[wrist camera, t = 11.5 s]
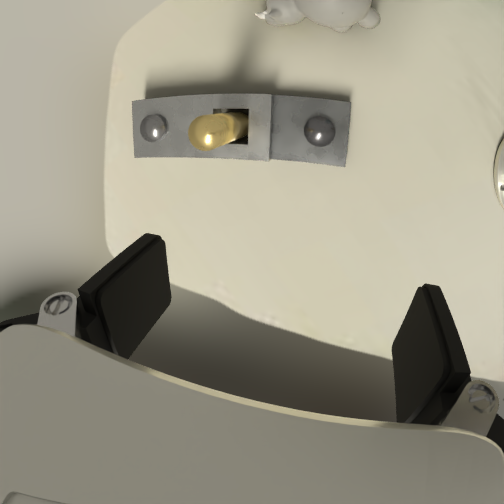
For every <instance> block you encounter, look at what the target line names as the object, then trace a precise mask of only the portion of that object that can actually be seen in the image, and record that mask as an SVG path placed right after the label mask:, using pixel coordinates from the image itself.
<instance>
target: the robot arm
mask: <svg viewBox="0 0 504 504" xmlns="http://www.w3.org/2000/svg"><path fill="white" fill-rule="evenodd" d="M494 183H495V190H496V194H497V197H498V200H499V202H500V204H501V206H502V207H503V209H504V139H503V140H502V142H501V144H500V146H499V149H498V151H497V155H496V159H495V166H494ZM78 291H79V295H80V296H79V297H78V298H76V297H75V295H74V294H72V293H70V292H59V293H56V294H53V295H51V296H49V297H48V298H47V299H46V300H45V301H44V302H43V303H42V305H41V308H40V313H36V314H31V315H27V316H23V317H18V318H14V319H10V320H6V321H3V322H1V323H0V504H504V419H502V418H501V417H500V416H499V415H498V414H497V411H498V408H499V398H498V395H497V393H496V391H495V390H494V388H493V387H492V386H491V385H490V384H488V383H486V382H485V381H481V380H473V381H471V377H470V373H471V371H470V368H469V364H468V361H467V358H466V355H465V352H464V349H463V346H462V343H461V340H460V337H459V334H458V331H457V328H456V326H455V323H454V320H453V318H452V315H451V312H450V310H449V307H448V305H447V302H446V300H445V298H444V295H443V293H442V291H441V288H440V287H439V286H436V285H431V284H424V285H423V286H422V287H418V289H417V291H416V293H415V296H414V298H413V300H412V303H411V305H410V307H409V310H408V312H407V314H406V316H405V319H404V321H403V323H402V325H401V327H400V329H399V332H398V334H397V336H396V338H395V340H394V342H393V345H392V357H393V367H394V379H395V394H396V414H397V423H393V422H382V421H371V420H363V419H353V418H345V417H338V416H331V415H324V414H318V413H312V412H306V411H300V410H295V409H291V408H285V407H281V406H276V405H271V404H267V403H263V402H258V401H254V400H250V399H246V398H242V397H238V396H234V395H231V394H227V393H224V392H220V391H217V390H213V389H210V388H206V387H203V386H200V385H197V384H193V383H190V382H187V381H184V380H181V379H178V378H176V377H173V376H170V375H167V374H164V373H161V372H159V371H156V370H153V369H150V368H148V367H145V366H142V365H140V364H138V363H135V362H133V361H130V360H128V359H129V357H130V356H131V355H132V353H133V351H135V349H136V348H137V346H138V345H139V344H140V343H141V341H142V340H143V339H144V337H145V336H146V335H147V333H148V332H149V331H150V330H151V328H152V327H153V326H154V324H155V323H156V321H157V320H158V319H159V318H160V316H161V315H162V314H163V313H164V311H165V310H166V308H167V307H168V306H169V305H170V302H171V290H170V282H169V274H168V265H167V256H166V246H165V241H164V240H162V238H161V236H159V235H154V234H149V233H146V234H144V235H143V236H141V237H140V238H139V239H138V240H136V241H135V242H134V243H132V244H131V245H130V246H129V247H127V248H126V249H125V250H124V251H122V252H121V253H120V254H119V255H118V256H116V257H115V258H114V259H113V260H112V261H110V262H109V263H108V264H107V265H105V266H104V267H103V268H102V269H101V270H99V271H98V272H97V273H96V274H95V275H94V276H92V277H91V278H90V279H89V280H88V281H87V282H85V283H84V284H83V285H82V286H81V287H80V288H79V289H78Z"/></svg>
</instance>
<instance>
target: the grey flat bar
mask: <svg viewBox="0 0 504 504" xmlns="http://www.w3.org/2000/svg"><path fill="white" fill-rule="evenodd" d="M222 108H235V109H249V128H248V141H232V142H229V143H227V144H225V145H222V146H220V147H217V148H215V149H213V150H210V151H201V150H199V149H197V148H195V147H194V146H193V145H192V144H191V142H190V140H189V137H188V129H189V126H190V124H191V122H192V121H193V120H194V119H195V118H197V117H199V116H202V115H210V114H220V113H221V109H222ZM350 109H351V102H345V101H338V100H330V99H321V98H311V97H300V96H285V95H272V94H201V95H184V96H172V97H161V98H152V99H144V100H136V101H132V115H133V139H134V156H135V158H140V157H195V158H224V159H243V160H258V161H270V159H277V160H288V161H298V162H308V163H316V164H325V165H333V166H340V167H345V164H346V155H347V145H348V134H349V123H350Z"/></svg>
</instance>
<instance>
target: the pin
mask: <svg viewBox="0 0 504 504" xmlns="http://www.w3.org/2000/svg"><path fill="white" fill-rule="evenodd" d="M248 128H249V117H248V116H247V115H246V114H244V113H241V112H232V113H220V114H210V115H202V116H199V117H197V118H195V119H194V120H193V121H192V122H191V124H190V126H189V129H188V137H189V140H190V142H191V144H192V145H193V146H194V147H195V148H197V149H199V150H201V151H210V150H213V149H215V148H217V147H220V146H222V145H225V144H227V143H229V142H232V141H234V140H237V139H239V138H242V137H244V136H246V135H247V134H248Z"/></svg>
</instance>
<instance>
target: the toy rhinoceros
mask: <svg viewBox="0 0 504 504" xmlns="http://www.w3.org/2000/svg"><path fill="white" fill-rule="evenodd" d="M266 6H267V9H266V10H265V11H264V12H259V13H255V15H256V16H257V17H259V18H261V19H265V20H266V22H267V23H268V24H270V25H273V26H277V27H279V26H284V25H286V24H287V25H292V24H297V23H299V22H301V21H302V20H303V19H304V18H305V17H307V18H309V19H310V20H311V21H313V22H315V23H317V24H320V25H323V26H326V27H331V28H332V29H333V30H335V31H337V32H346V31H348V30H349V29H350V28H351V27H352V25H354V24H356V23H358V24H359V25H360V26H362V27H364V28H367V29H372V28H375V27H376V26H378V24H379V23H380V16H379V14H378V12H377V11H376V10H375V9H374V8H372V7H370V6H371V0H266Z"/></svg>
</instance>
